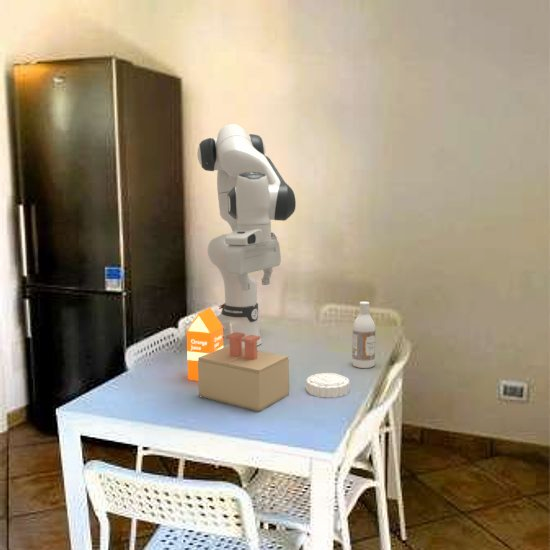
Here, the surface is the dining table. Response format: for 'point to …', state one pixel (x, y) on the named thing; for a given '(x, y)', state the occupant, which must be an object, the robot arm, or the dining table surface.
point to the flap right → (256, 357)
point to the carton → (243, 385)
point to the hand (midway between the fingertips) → (256, 287)
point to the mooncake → (327, 385)
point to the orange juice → (202, 339)
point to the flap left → (227, 351)
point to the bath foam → (363, 339)
